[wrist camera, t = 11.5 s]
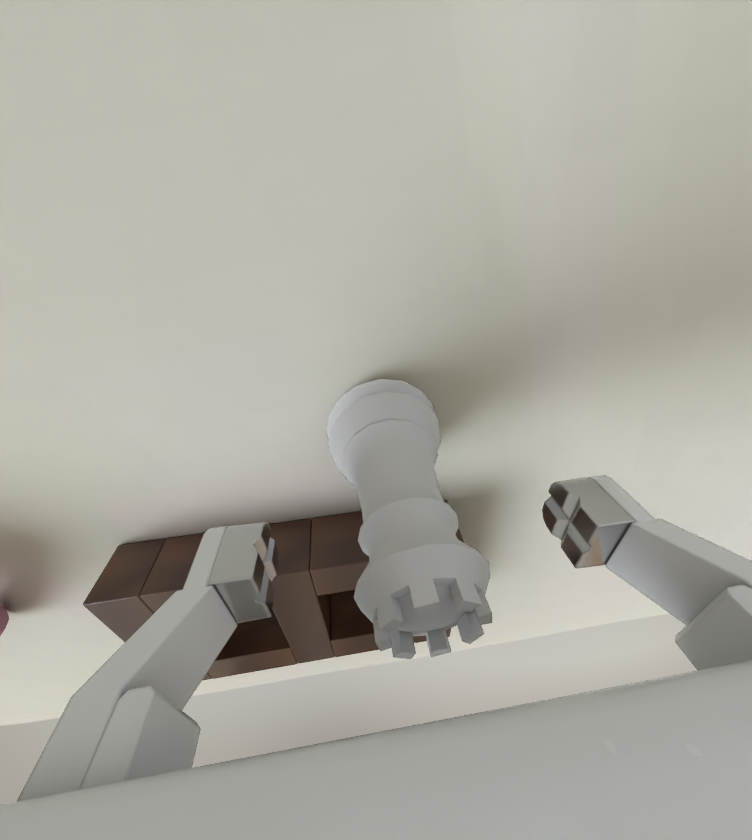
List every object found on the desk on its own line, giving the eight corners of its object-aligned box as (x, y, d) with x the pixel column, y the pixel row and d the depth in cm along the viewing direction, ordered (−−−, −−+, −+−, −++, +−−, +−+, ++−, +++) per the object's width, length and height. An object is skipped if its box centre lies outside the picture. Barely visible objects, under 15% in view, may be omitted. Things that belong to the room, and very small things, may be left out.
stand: (446, 498, 17) (466, 546, 14) (436, 591, 22) (450, 637, 19) (117, 544, 15) (81, 604, 13) (190, 631, 20) (173, 686, 18)
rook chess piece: (429, 456, 15) (513, 658, 8) (332, 467, 14) (339, 689, 8) (436, 368, 12) (566, 554, 6) (319, 378, 12) (311, 592, 5)
